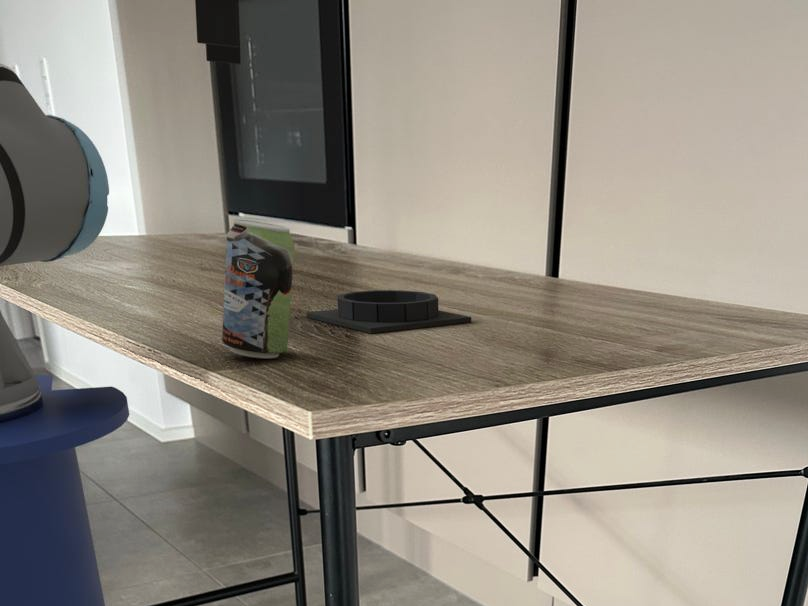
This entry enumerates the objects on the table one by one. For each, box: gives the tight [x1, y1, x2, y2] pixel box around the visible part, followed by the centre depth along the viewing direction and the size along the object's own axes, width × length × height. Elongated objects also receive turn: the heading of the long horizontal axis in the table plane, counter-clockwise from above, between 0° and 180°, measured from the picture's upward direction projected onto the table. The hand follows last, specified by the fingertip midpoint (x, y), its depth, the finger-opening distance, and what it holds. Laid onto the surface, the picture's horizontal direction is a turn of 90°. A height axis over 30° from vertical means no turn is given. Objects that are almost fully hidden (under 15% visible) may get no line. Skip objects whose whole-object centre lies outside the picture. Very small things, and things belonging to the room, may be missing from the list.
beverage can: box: [221, 218, 296, 359], centre depth 87 cm, size 6×7×12 cm
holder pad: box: [306, 289, 472, 334], centre depth 110 cm, size 14×14×3 cm
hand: (221, 55), depth 71 cm, fingers open, 13 cm apart
